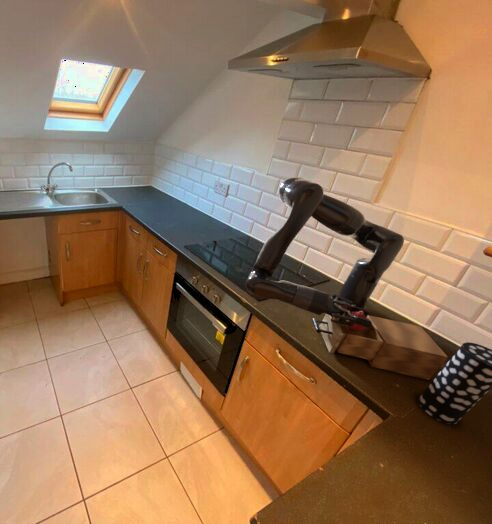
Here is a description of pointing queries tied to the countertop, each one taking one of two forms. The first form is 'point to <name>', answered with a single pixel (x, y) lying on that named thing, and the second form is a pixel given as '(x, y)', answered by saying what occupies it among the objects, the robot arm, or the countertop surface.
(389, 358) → the cabinet
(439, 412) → the white-spotted black cylinder
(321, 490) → the countertop surface
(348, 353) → the drawer
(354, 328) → the onion
